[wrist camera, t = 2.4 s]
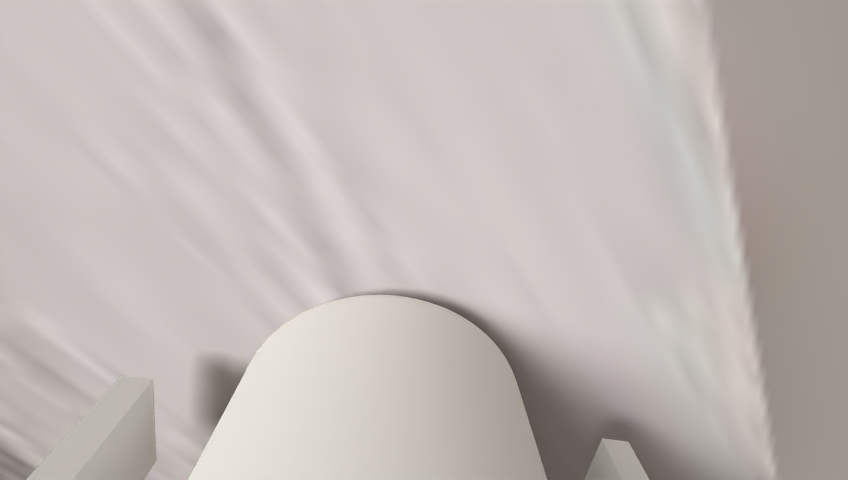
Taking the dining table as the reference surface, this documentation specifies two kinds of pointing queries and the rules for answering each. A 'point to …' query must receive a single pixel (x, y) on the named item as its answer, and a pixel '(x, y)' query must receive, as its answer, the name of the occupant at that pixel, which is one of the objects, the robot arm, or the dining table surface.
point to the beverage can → (374, 401)
